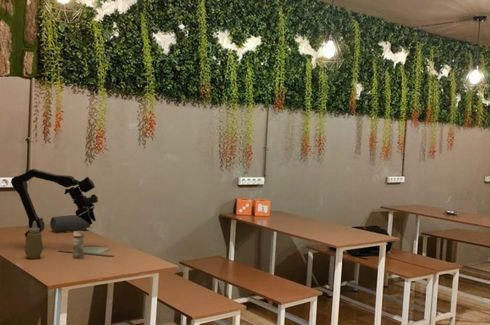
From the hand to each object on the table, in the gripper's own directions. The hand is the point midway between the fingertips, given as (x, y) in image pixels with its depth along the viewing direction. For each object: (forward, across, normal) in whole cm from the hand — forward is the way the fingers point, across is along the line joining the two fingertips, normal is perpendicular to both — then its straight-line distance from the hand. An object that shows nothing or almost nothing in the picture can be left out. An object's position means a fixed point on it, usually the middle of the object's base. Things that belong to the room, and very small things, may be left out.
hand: (93, 222), depth 277 cm
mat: (+13, -1, +7) cm, 15 cm away
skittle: (+10, -18, +11) cm, 23 cm away
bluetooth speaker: (0, +50, +28) cm, 57 cm away
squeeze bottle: (0, -21, +28) cm, 35 cm away
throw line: (+12, -9, +9) cm, 18 cm away
